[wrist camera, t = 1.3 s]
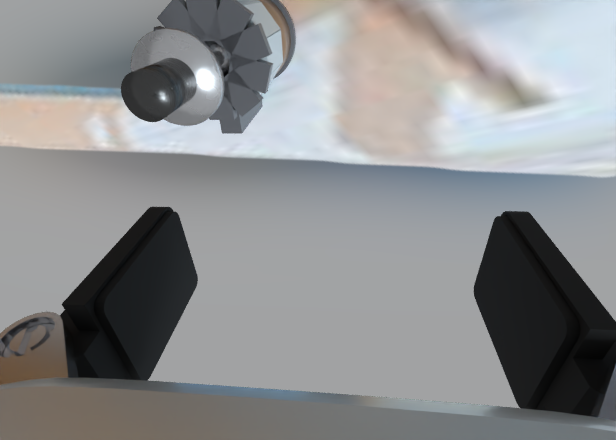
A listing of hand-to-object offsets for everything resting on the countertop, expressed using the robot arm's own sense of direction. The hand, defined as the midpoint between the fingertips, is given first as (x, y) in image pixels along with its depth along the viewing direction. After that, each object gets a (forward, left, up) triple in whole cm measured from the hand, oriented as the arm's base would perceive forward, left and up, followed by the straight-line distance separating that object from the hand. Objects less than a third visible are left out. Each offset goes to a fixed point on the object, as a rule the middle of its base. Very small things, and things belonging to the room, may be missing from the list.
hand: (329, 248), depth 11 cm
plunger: (+11, -2, -23) cm, 26 cm away
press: (+11, -2, -36) cm, 38 cm away
